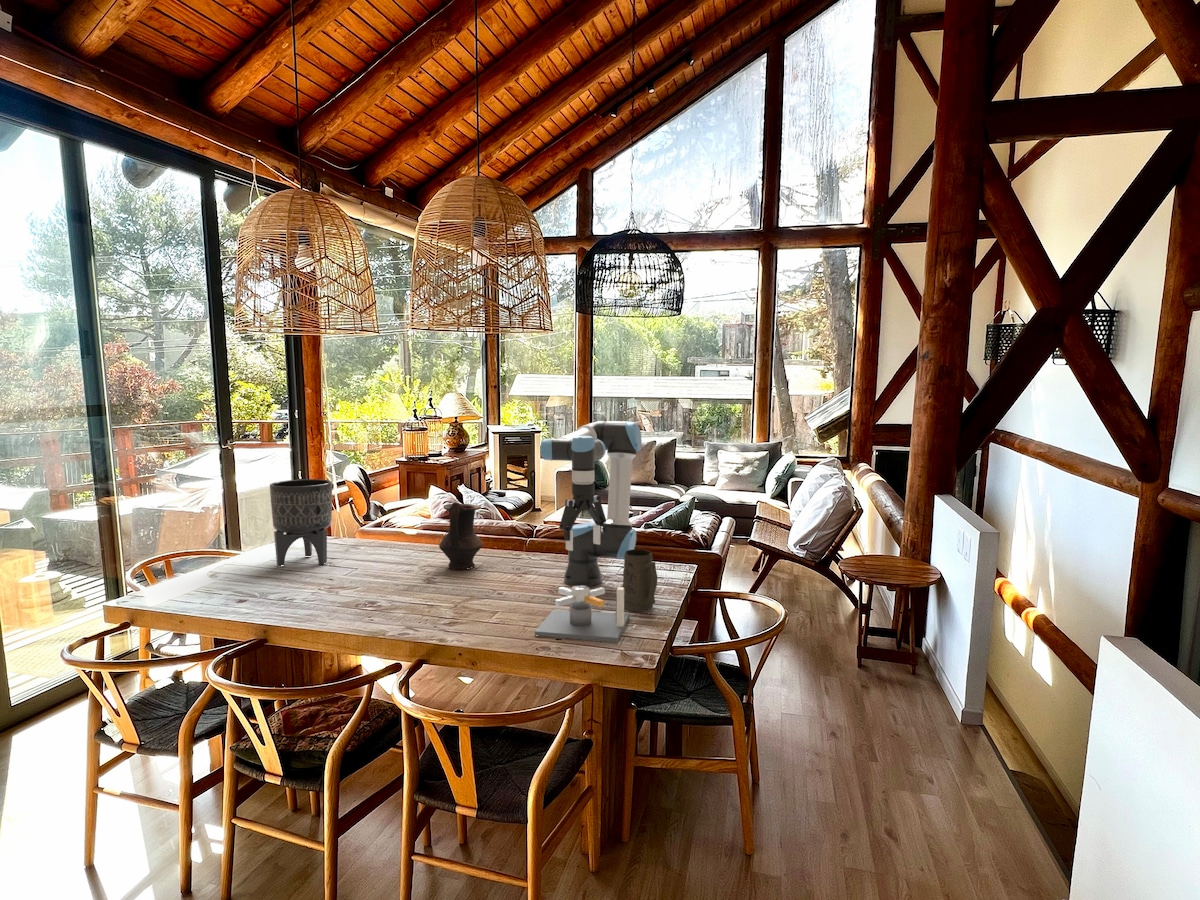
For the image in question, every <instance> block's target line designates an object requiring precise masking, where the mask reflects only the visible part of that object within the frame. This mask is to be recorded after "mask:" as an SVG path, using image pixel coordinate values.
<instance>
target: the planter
mask: <svg viewBox="0 0 1200 900" xmlns="http://www.w3.org/2000/svg"><path fill="white" fill-rule="evenodd" d="M269 494H270V495H269V496H270V506H271V515H272V516H271V517H272V526H273V529H274V530H275V531H274V532H273V535H274V547H275V559H276V566H277V565H278V566H281V565H284V566H285V560H286V556H287V553H288V551H289V548H290V547H291V545H292V544H294V542H296V541H297V540H299V539H302V542H303V545H304V557H305V556H311V555H312V556H313V547H314V549H315V552H316V555H317V561H318V565H319V564H324V563H326V562H327V563H328V557H327V556H328V555H327V553H328V549H327V548H328V529H327V528H329V527H330V526H331V524H332V522H333V521H332V519H333V518H332V516H333V513H332V512H333V510H332V509H333V481H332V480H329V479H321V478H320V479H319V478H307V479H306V478H304V479H291V480H290V479H289V480H281V481H274V482H271V483H270V484H269ZM284 533H285V534H284ZM278 566H277V567H278Z"/></svg>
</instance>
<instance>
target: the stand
mask: <svg viewBox="0 0 1200 900" xmlns="http://www.w3.org/2000/svg"><path fill="white" fill-rule="evenodd" d="M615 593H616V594H615V595H616V596H615V597H616V599H615V613H614V612H599V611H592V606H591V605H590V607H589V608H587V609H574V608H572V607H571V605H570V606H569V609H559V608H554V609H552V611H551V612H550V613H549V614H548V615H547V616H546V618H545V619H544V620H543V621H542V622H541V624H540V625H539V626H538V627H537V628H536V629H535V631H534V636H535V637H540V636H548V637H547V638H553V637H559V638H558V639H566V638H570V639H569V640H579V639H582V641H591V640H592V641H594V642H606V643H618V642H619V639H620V638H621V636H622V634H623V632H624V630H625V628H626V626H627V623H628V622H629V619H630V615H629V613H628V614H627V613H625V608H624V588H623V586H622V587H621V586H618V587H617V589H616V592H615ZM536 635H538V636H536ZM560 637H561V638H560Z"/></svg>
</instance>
